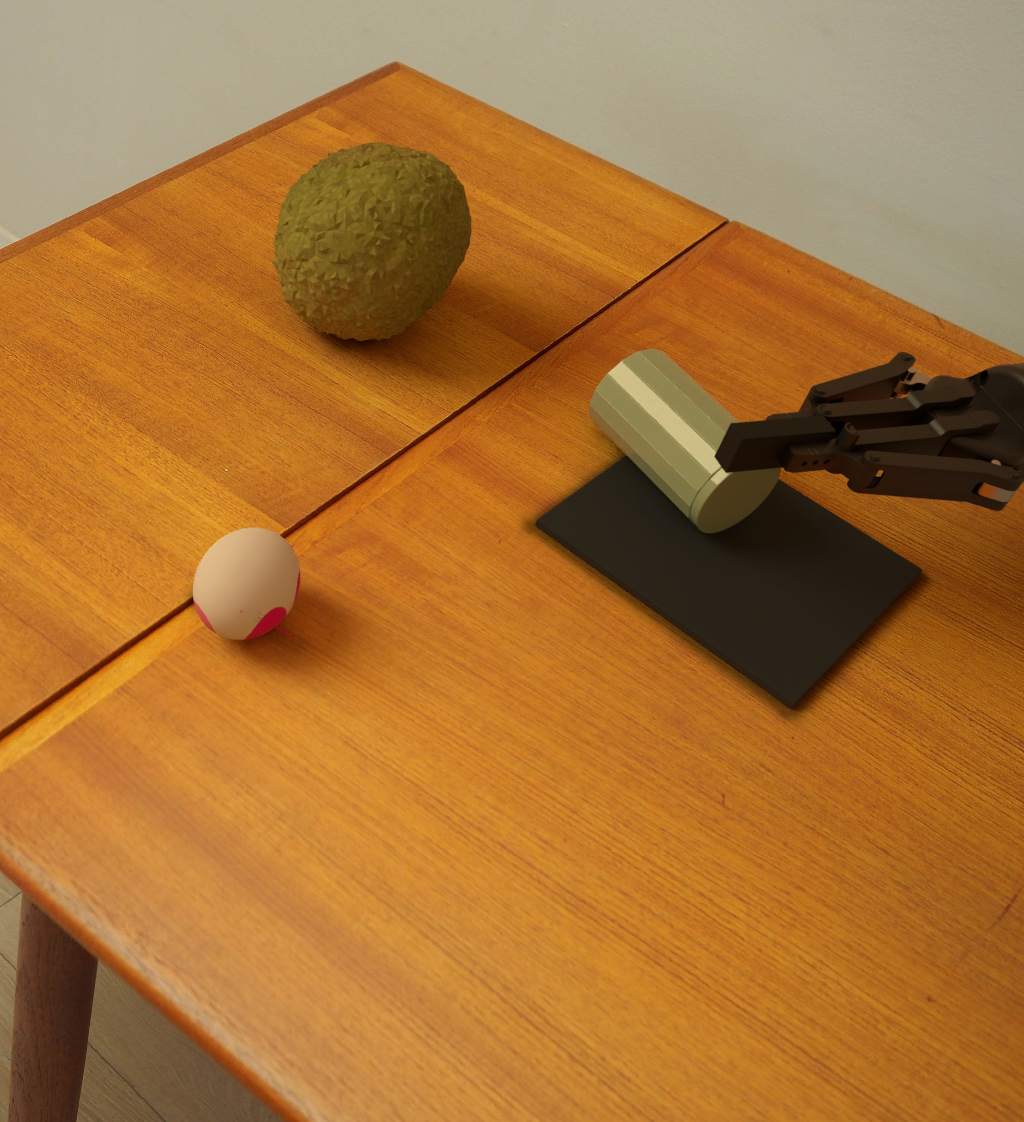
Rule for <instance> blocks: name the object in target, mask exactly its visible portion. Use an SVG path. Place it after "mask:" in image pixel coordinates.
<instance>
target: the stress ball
mask: <svg viewBox="0 0 1024 1122" xmlns="http://www.w3.org/2000/svg"><path fill="white" fill-rule="evenodd" d="M294 546H296V543H294V544H292V545H291V544H290V543H289V542H288V541H287V539H285V538H284V537H283V536H281V534H278V532H275V531H273V530H270V529H268V528H263V527H256V526H255V527H253V526H252V527H244V528H240V529H237V530H236V529H235V530H234V531H231V532H229V533H227V534H225V535H224V536H221V538H219V539H218V540H217V541H215V542H214V543H213V544H212V545H211V546H210V547H209V548H208V549H207V551H206V552H205V553H204V554H203V556H202V558H201V560H200V561H199V563H198V566H197V567H196V571H195V574H194V578H193V583H192V599H193V605H194V607H195V611H196V613H197V615H198V617H199V619H200V620H201V622H202V623H203V624H204V625H205V627H207V628H208V630H210V631H211V632H213V633H214V634H216V635H218V636H219V637H222V638H224V639H227V640H233V641H245V640H251V639H255V638H259V637H261V636H263V635H265V634H267V633H269V632H271V631H272V630H273V629H275V630H277V631H279V632H281V633H284V634H285V635H287V636H289V637H292V638H294V639H296V640H297V641H300V642H302V640H301V639H299V638H297V637H296V636H294V635H293V634H291V633H289V632H287V631H286V630H284V629H282V628H280V627H279V624H280V623H281V622H282V621H283V620H284V619H285V618H286V617H287V616H288V615H289V613H290V611H291V610H292V609H293V607H294V605H295V603H296V600H297V597H298V594H299V592H300V591H299V590H300V586H301V568H300V562H299V559H298V556H297V554H296V552H295V550H294V548H293V547H294Z"/></svg>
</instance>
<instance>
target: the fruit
mask: <svg viewBox="0 0 1024 1122" xmlns="http://www.w3.org/2000/svg"><path fill="white" fill-rule="evenodd" d="M280 208H281V210H280V211H279V213H278V215H277V216H278V223H277V225H276V230H275V233H274V234H273V236H274V240H273V246H274V248H275V249H274V250H273V253H274V255H275V258H274V259H273V260H272V261H271V262H272V265H273V266H274V268H275V269H276V272H277V275H276V278H277V280H278V281H279V283H278V284H280V291H281V294H282V296H283V301H284V302H285V303H286V304H287V305H289V306H290V308H291V310H292V312H293V314H295V315H297V316H299V317H300V318H301V322H302V323H308V324H310V326H312V327H313V328H316V329H317V331H318V333H326V334H327V335H329V334H332V335H335V336H336V337H337V338H338V339H342V340H343V341H345V340H350V339H355V340H356V341H358V342H363V341H368V340H374V339H375V340H377V341H382V340H383V339H386V340H390V339H391V338H392V336H397V335H401V334H402V333H403V332H405V330H406V329H407V328H410V327H411V326H412V325H413V324H414V323H415V322H416V321H417V320H418V319H421V317H422V316H424V315H425V313H426V312H428V311H429V310H431V309H433V307H434V306H435V305H436V304H438V303H439V302H441V301H442V300H443V299H444V298H445V297H446V292H447V290H448V288H449V286H451V284H452V281H453V279H454V278H455V276H456V274H457V273H458V271H459V268H460V267H461V266H462V264H463V263H464V261H465V259H466V255H467V253H468V250H469V247H470V245H471V237H472V216H471V210H470V207H469V204H468V199H467V194H466V191H465V186H464V184H463V183H462V182H461V180H460V179H458V176H457V174H456V173H455V172H454V170H452V169H451V165H450V164H448V163H446V162H445V161H443V160H440V159H439V158H438V157H437V156H435V154H434V153H433V152H428V151H427V150H415V149H413V148H410V147H406V146H398V145H394V144H391V143H387V142H365V143H361V144H358V145H355V146H351V147H349V148H341V149H339V150H338V151H336V152H328V153H327V156H326V157H325V158H323V159H319V160H318V161H317V163H316V164H315V163H314V164H313V165H312V167H311V168H309V169H308V171H307V173H302V174H301V173H300V177H299V178H298V179H297V180H296V182H294V183H293V184H291V186H290V187H289V191H287V194H286V195H285V200H283V201H282V202H281V205H280Z"/></svg>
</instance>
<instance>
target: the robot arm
mask: <svg viewBox="0 0 1024 1122" xmlns="http://www.w3.org/2000/svg"><path fill="white" fill-rule="evenodd" d="M916 362H917V360H916V357H915V356H914V355H913V354H911V353H909V352H905V351H899V352H897V353H896V355H895V356H893V357H892V359H891V360H890V361H889V362H887V363H883V364H881V365H878V366H874V367H870V368H867V369H864V370H861V371H857V372H854V373H851V374H847V375H844V376H841V377H837V378H834V379H831V380H827V381H824V382H820V383H817V384H814V385H812V386H811V387H810V389H809V391H808V392H807V395H806V396H805V398H804V400H803V402H802V404H801V406H800V408H799V410H798V411H793V412H782V413H771V414H769V415H768V416H766V418H765V419H763V420H752V421H751V420H750V421H741V422H740V421H739V422H738V423H731V424H730V426H729V428H728V430H727V432H726V434H725V436H724V438H723V440H722V442H721V444H720V446H719V448H718V450H717V452H716V454H715V456H714V457H715V458H716V460H717V461H718V463H719V464H720V466H721V467H722V468H723V470H724V471H725V473H731V472H741V471H751V470H762V469H772V468H781V469H783V470H784V471H785V472H788V473H792V474H797V473H808V472H817V471H825V472H827V473H829V474H832V475H842V476H843V477H845V478H846V479H847V482H846V487H847V488H848V489H849V490H851V491H852V492H853V493H856V494H862V495H873V496H885V497H886V496H887V497H898V498H899V497H900V498H912V499H924V500H925V499H926V500H934V501H935V500H937V501H947V502H948V501H949V502H961V503H962V502H963V503H967V504H971V505H975V506H977V507H982V508H985V509H987V510H988V509H989V510H992V511H993V512H995V511H996V512H1001V511H1003V510H1004V509H1005V507H1006V506H1007V505H1008V503H1009V502H1010V500H1012V498H1013V497H1014V495H1015V494H1016V493H1017V492H1018V490H1019V489H1020V487H1021V486H1022V484H1023V483H1024V362H1017V363H1008V364H1007V363H1006V364H997V365H994V366H989V367H987V368H985V369H983V370H980V371H979V372H977V373H974V374H973V375H970V376H968V377H965V378H961V377H957V376H956V377H955V376H952V375H947V374H940V375H939V374H938V375H936V376H934V377H930V376H928V375H926V374H924V373H923V372H921V371H918V370H917V369H916V368H915V367H913V366H914V364H915V363H916ZM903 396H904V397H903ZM879 471H882V473H881V475H880V476H878V473H879Z"/></svg>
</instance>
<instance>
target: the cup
mask: <svg viewBox="0 0 1024 1122" xmlns="http://www.w3.org/2000/svg"><path fill="white" fill-rule="evenodd" d="M588 407H589V408H588V410H589V411H588V415H589V418H590V420H591V421H592V422H593V423H594V425H595V426H596V427H597V428H599V430H601V432H602V433H603V434H604V435H605V436H606V437H607V438H608V439H609V440H610V441H611V442H612V443H613V445H615V446H616V447H617V448H618V449H619V450H620V451H621V452H622V454H624V456H627V457H628V458H629V459H630V460H631V461H632V462H633V463H634V464H635V465H636V466H637V467H638V468H639V469H640V470H641V471H642V472H643V473H644V475H645V476H646V477H647V478H648V479H649V480H650V481H651V482H652V483H653V484H654V485H655V486H656V487H657V488H658V489H659V490H660V491H661V492H662V493H663V494H664V495H665V496H666V497H667V498H668V499H669V500H670V501H671V502H672V503H673V504H674V505H675V506H676V507H677V508H678V509H679V510H680V511H681V512H682V513H683V514H684V516H685V517H686V518H687V519H688V520H689V521H690V522H691V523H692V524H694V525H695V526H696V527H697V528H698V529H699V530H700V531H701V532H704V533H716V532H720V531H723V530H725V529H727V528H730V527H731V526H733V525H735V524H737V523H738V522H740V521H741V520H743V519H744V518H745V517H747V516H748V515H749V514H750V513H752V512H753V511H754V510H755V509H756V508H757V507H758V506H759V505H760V504H761V503H762V502H763V501H764V500H765V499H766V497H767V496H768V495H769V494H770V492H771V491H772V490H773V488H774V486H775V485H776V483H777V481H778V479H780V476H781V473H782V468H772V469H762V470H751V471H741V472H731V473H725V471H724V470H723V468H722V467H721V466H720V464H719V463H718V461H717V460H716V458H715V457H714V456H715V454H716V452H717V450H718V448H719V446H720V444H721V442H722V440H723V438H724V436H725V434H726V432H727V430H728V428H729V426H730V424H731V423H738V422H740V420H739V419H738V418H737V417H735V415H733V414H732V413H731V412H730V411H729V410H728V409H726V408H725V407H724V406H723V405H722V404H721V403H720V402H719V401H718V400H717V399H716V398H714V397H713V396H712V395H711V394H710V392H708V391H707V390H706V389H705V388H704V387H703V386H702V385H701V384H700V383H698V381H696V380H695V378H693V377H692V376H691V375H690V374H688V373H687V372H686V371H685V370H684V369H683V368H682V367H681V366H680V365H679V364H678V363H677V362H676V361H675V360H674V359H672V358H671V357H670V356H669V355H668V354H667V353H666V352H665V351H663V350H660V349H656V348H653V347H652V348H648V349H643V350H637V351H636V352H634V353H631V354H630V355H628V356H627V357H625V358H623V359H622V360H620V361H619V362H618V363H617V364H616V365H615V366H614V367H612V368H611V370H609V371H608V372H607V373H606V374H605V375H604V376H603V378H602V379H601V380H600V382H599V383H598V385H597V386H596V387H595V389H594V391H593V394H592V396H591V399H590V401H589V406H588Z"/></svg>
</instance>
